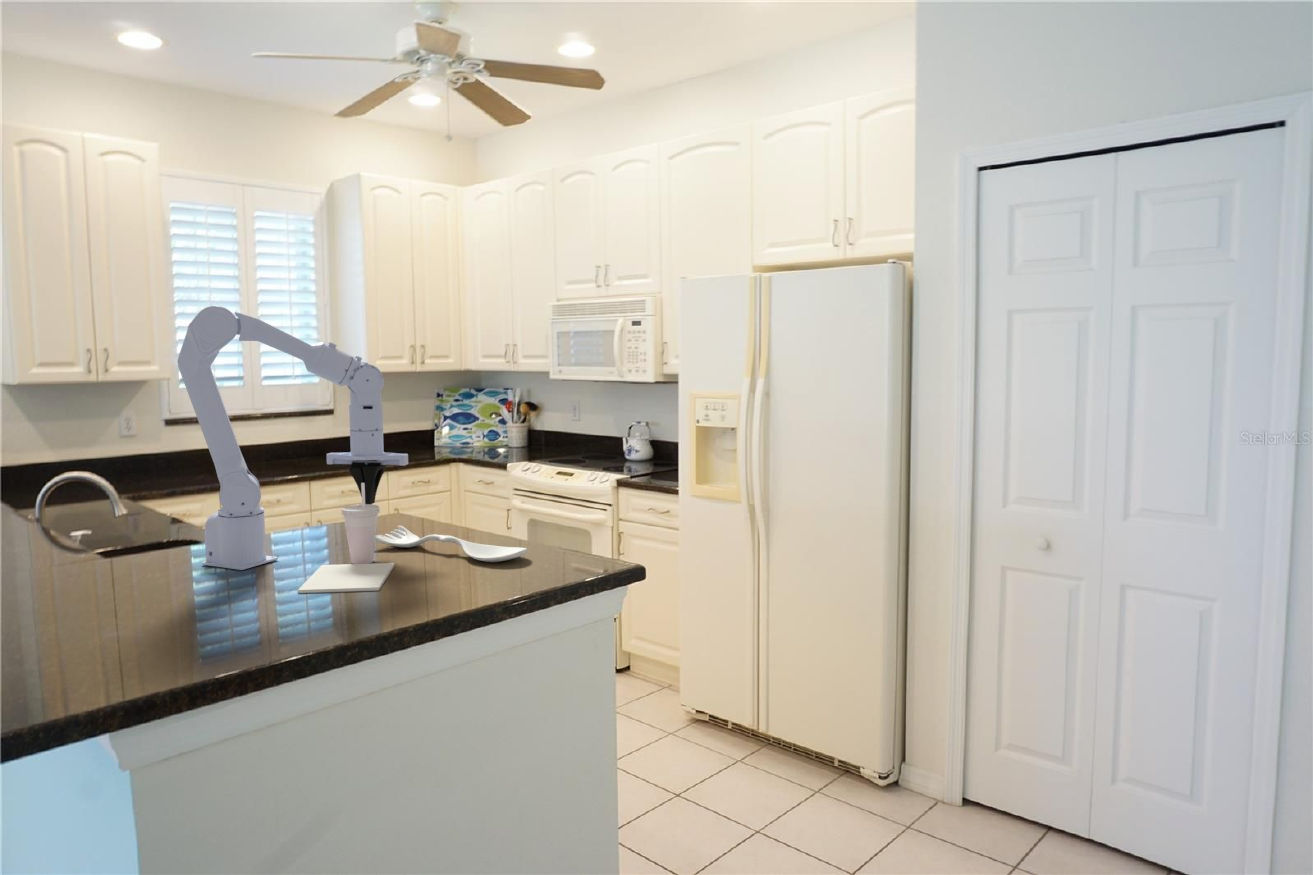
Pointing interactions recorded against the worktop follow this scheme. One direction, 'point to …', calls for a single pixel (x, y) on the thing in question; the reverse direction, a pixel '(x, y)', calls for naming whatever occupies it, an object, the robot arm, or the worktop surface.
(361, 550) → the smoothie
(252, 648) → the worktop surface
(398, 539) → the white plastic utensil
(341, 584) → the mat
